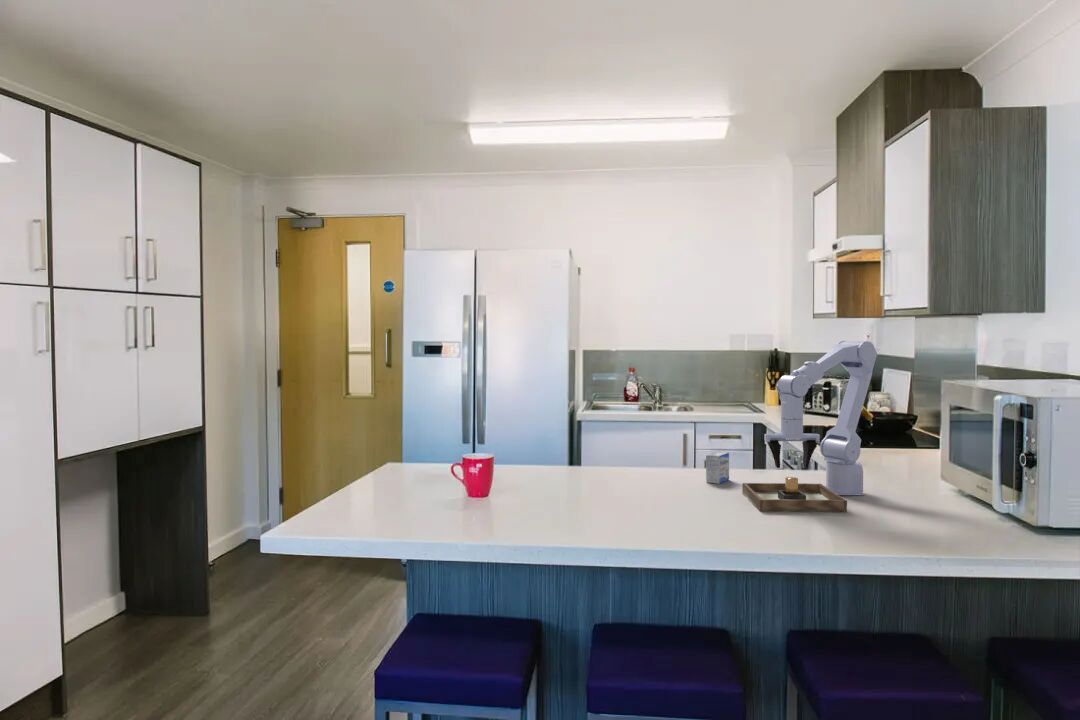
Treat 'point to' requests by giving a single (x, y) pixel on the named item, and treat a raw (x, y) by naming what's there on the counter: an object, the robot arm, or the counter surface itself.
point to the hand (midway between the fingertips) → (791, 467)
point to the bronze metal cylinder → (791, 486)
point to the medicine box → (717, 467)
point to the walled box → (793, 498)
